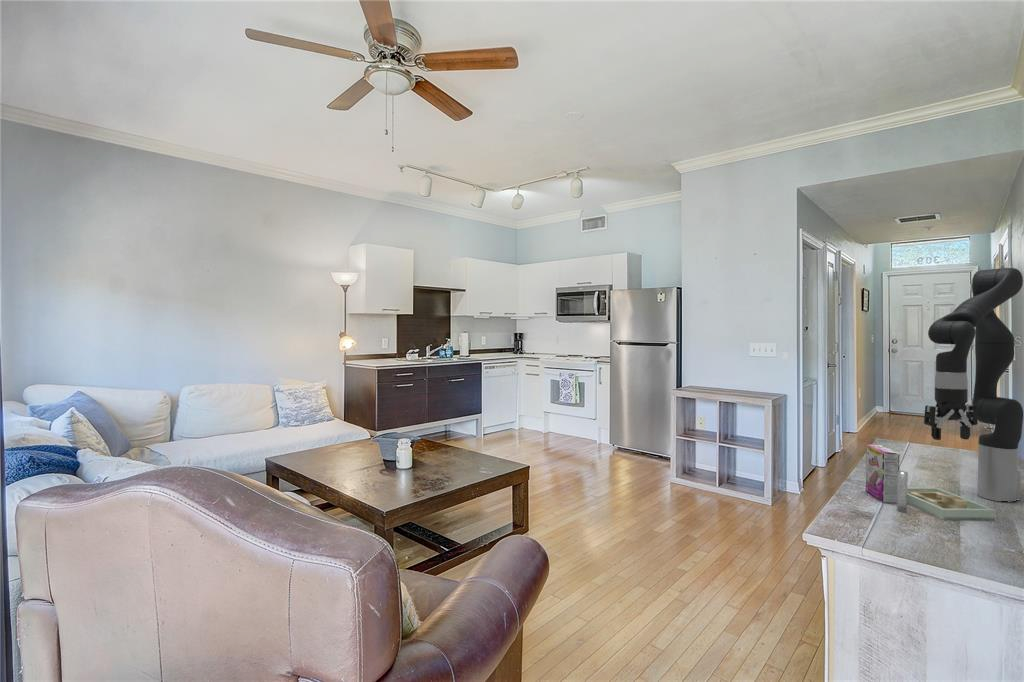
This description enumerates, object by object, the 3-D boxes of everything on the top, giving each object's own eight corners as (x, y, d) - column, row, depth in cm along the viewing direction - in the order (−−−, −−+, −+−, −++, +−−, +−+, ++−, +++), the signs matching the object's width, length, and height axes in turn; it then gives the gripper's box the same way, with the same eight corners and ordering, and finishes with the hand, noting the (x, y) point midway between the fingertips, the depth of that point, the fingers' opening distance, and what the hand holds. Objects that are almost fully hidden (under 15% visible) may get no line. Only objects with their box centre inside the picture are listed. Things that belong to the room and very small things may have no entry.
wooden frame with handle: (909, 497, 160) (909, 485, 160) (937, 497, 160) (937, 485, 159) (946, 514, 146) (946, 500, 146) (977, 514, 146) (977, 501, 145)
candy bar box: (864, 491, 168) (865, 444, 168) (880, 492, 167) (881, 444, 167) (881, 503, 157) (883, 452, 157) (899, 504, 156) (900, 453, 156)
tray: (936, 496, 163) (937, 487, 163) (995, 520, 143) (995, 510, 143) (891, 496, 163) (891, 487, 163) (942, 519, 143) (943, 509, 143)
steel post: (902, 509, 152) (903, 470, 151) (908, 512, 149) (909, 473, 149) (894, 509, 152) (895, 470, 151) (900, 512, 149) (901, 473, 149)
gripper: (962, 384, 153) (962, 436, 154) (917, 385, 153) (917, 437, 154) (986, 387, 146) (985, 441, 146) (938, 388, 146) (937, 442, 146)
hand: (950, 439), depth 150 cm, fingers open, 8 cm apart
